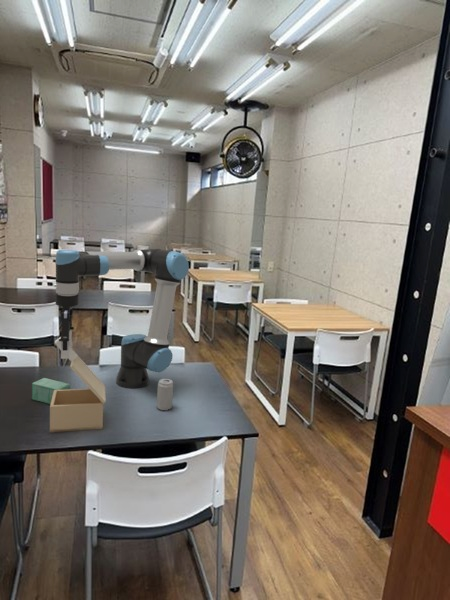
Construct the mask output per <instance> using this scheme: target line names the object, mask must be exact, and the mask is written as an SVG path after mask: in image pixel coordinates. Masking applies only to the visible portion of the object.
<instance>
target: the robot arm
mask: <svg viewBox="0 0 450 600" xmlns="http://www.w3.org/2000/svg"><path fill="white" fill-rule="evenodd" d="M54 264H55V283H54V284H53V287H55V293H56V295H55V305H57V306H58V307H62V308H61V309H60V322H61V324H60V325H61V327H60V337H61V339H59V341H61V350H60V359H63V360H69V346H70V347H71V348H72V342H73V338H72V337H73V335H72V334H73V331H74V329H75V328H74V326H73V316H74V315H73V314H74V309H73V307H77V306H78V305H79V295H78V293H80V291H79V290H80V289H79V285H80V281H79V280H80V278H81V277H95V276H98V277H100V276H105V275H107V274H108V273H109V272H110V270H134V271H136V272H145V273H151V274H154V280H155V282H156V288H155V294H154V301H153V305H152V311H151V314H150V315H151V317H150V322H149V326H148V327H149V328H148V334H142V333H136V334H135V333H133V334H127V335H124V336H123V337H121V338H122V339H121V344H120V367H119V369H118V372H117V375H116V378H115V379H116V380H115V382H116V384H117V385H118V386H119V387H122V388H126V389H140V388H143V387H145V386H147V385H148V384H149V374H148V370H149V371H150V372H154V373H161V372H164V371H165V370H166V369H167V368H168V367H170V364H171V363H172V361H173V351H172V350H171V349H170V341H169V340H168V334H169V327H170V323H171V317H172V313H173V308H174V307H173V306H174V302H175V295H176V289H177V287H178V286H180V285H181V281H182V280H183V279H185V278H186V276H187V275H188V274H189V269H190V268H189V267H190V265H189V261H188V259H187V257H186V255H184V254H183V253H181V252H178V251H175V250H167V249H161V248H145V249H134V250H132V251H87V250H85V251H83V250H81V251H79V250H77V249H65V248H62V249H57V251H56V255H55V263H54Z"/></svg>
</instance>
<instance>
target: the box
mask: <svg viewBox="0 0 450 600" xmlns="http://www.w3.org/2000/svg"><path fill="white" fill-rule="evenodd" d="M65 389H71V384H70V383H67V382H64V381H59V380H54V379H50V378H46V377H42V378H41V379H38V380H36V381H33V382H32V383H31V400H33V401H38V402H40V403H45V404H49V405H50V404H51V400H52V396H53V392H54V390H65Z"/></svg>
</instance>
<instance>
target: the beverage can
mask: <svg viewBox="0 0 450 600" xmlns="http://www.w3.org/2000/svg"><path fill="white" fill-rule="evenodd" d="M156 393H157V394H156V408H157V409H158V410H159V411H163V410H165V411H168V409H169V410H170V409H172V408H173V396H174V395H173V393H174V382H173V380H172V379H171V378H161V379H159V381H158V382H157V392H156Z"/></svg>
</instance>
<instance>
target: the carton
mask: <svg viewBox="0 0 450 600" xmlns="http://www.w3.org/2000/svg"><path fill="white" fill-rule="evenodd" d="M49 405H50V406H49V433H51V434H52V433H65V432H79V431H93V430H103V427H104V426H103V423H104V403H102V401H101V400H100V399H99V398H98V397H97V396H96V395H95V394H94V393H93V392H92V391H91V389H90V388H72V389H71V388H70V389H65V390H54V392H53V396H52V400H51V404H49Z"/></svg>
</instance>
